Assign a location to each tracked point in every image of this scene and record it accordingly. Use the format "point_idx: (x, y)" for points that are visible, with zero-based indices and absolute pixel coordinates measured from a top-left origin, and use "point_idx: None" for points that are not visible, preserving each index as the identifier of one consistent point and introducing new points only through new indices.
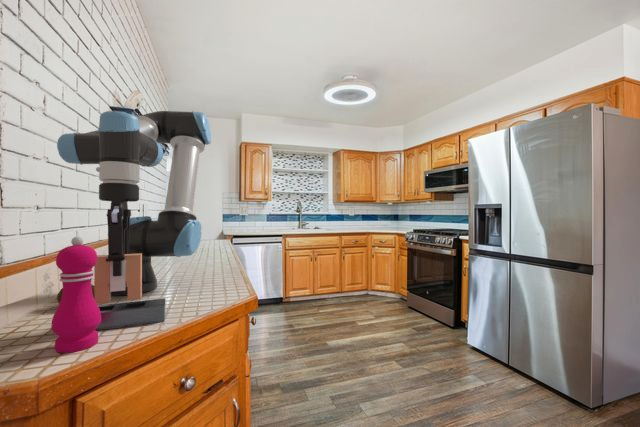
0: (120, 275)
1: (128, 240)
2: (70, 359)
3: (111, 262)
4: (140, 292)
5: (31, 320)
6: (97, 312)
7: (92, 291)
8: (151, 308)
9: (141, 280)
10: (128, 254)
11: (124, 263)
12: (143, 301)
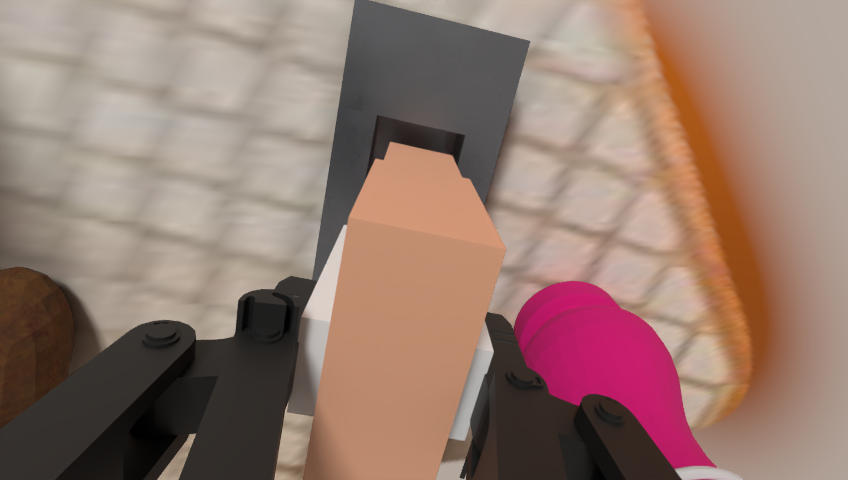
0: (501, 318)
1: (82, 444)
2: (665, 337)
3: (463, 426)
4: (455, 163)
5: (183, 446)
6: (649, 339)
7: (17, 331)
8: (511, 105)
9: (404, 164)
10: (377, 344)
11: (490, 340)
12: (357, 123)
